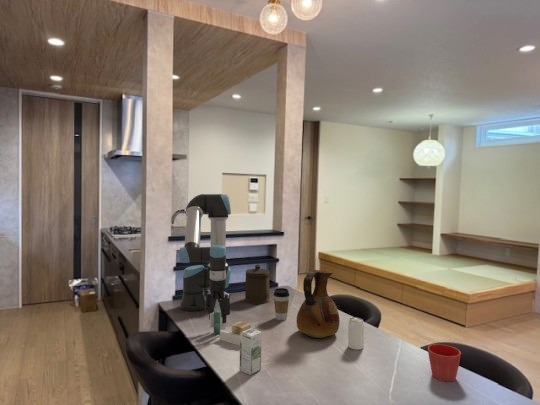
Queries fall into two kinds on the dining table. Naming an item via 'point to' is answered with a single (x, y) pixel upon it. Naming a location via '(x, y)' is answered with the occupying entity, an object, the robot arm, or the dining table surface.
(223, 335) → the rail lane
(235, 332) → the corded oak block
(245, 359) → the syrup box
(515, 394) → the dining table surface
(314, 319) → the ceramic pitcher
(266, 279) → the wooden container
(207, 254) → the robot arm
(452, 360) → the flower pot
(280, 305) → the coffee cup
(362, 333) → the can
